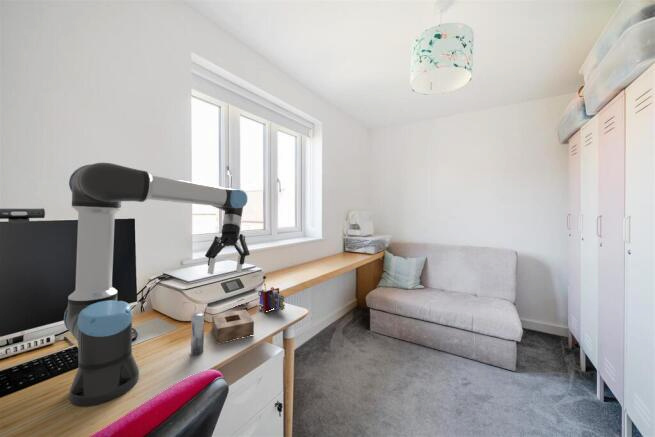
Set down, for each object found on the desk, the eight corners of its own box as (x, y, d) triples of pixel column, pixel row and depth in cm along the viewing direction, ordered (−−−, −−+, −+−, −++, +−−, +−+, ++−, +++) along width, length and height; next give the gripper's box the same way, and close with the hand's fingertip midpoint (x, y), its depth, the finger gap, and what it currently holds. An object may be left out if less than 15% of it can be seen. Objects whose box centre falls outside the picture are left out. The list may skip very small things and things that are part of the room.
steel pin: (191, 357, 90) (191, 317, 90) (190, 351, 94) (191, 313, 93) (203, 354, 92) (204, 315, 92) (202, 348, 96) (203, 311, 95)
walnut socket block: (216, 344, 99) (217, 328, 99) (212, 328, 111) (212, 315, 111) (253, 335, 106) (253, 321, 106) (245, 322, 118) (245, 309, 118)
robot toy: (267, 304, 143) (291, 312, 130) (252, 309, 136) (277, 317, 123) (266, 273, 143) (290, 277, 130) (251, 276, 136) (275, 281, 123)
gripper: (260, 226, 117) (255, 273, 109) (212, 230, 123) (204, 275, 115) (252, 220, 111) (246, 269, 102) (202, 225, 116) (192, 272, 108)
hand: (224, 273), depth 109 cm, fingers open, 13 cm apart
